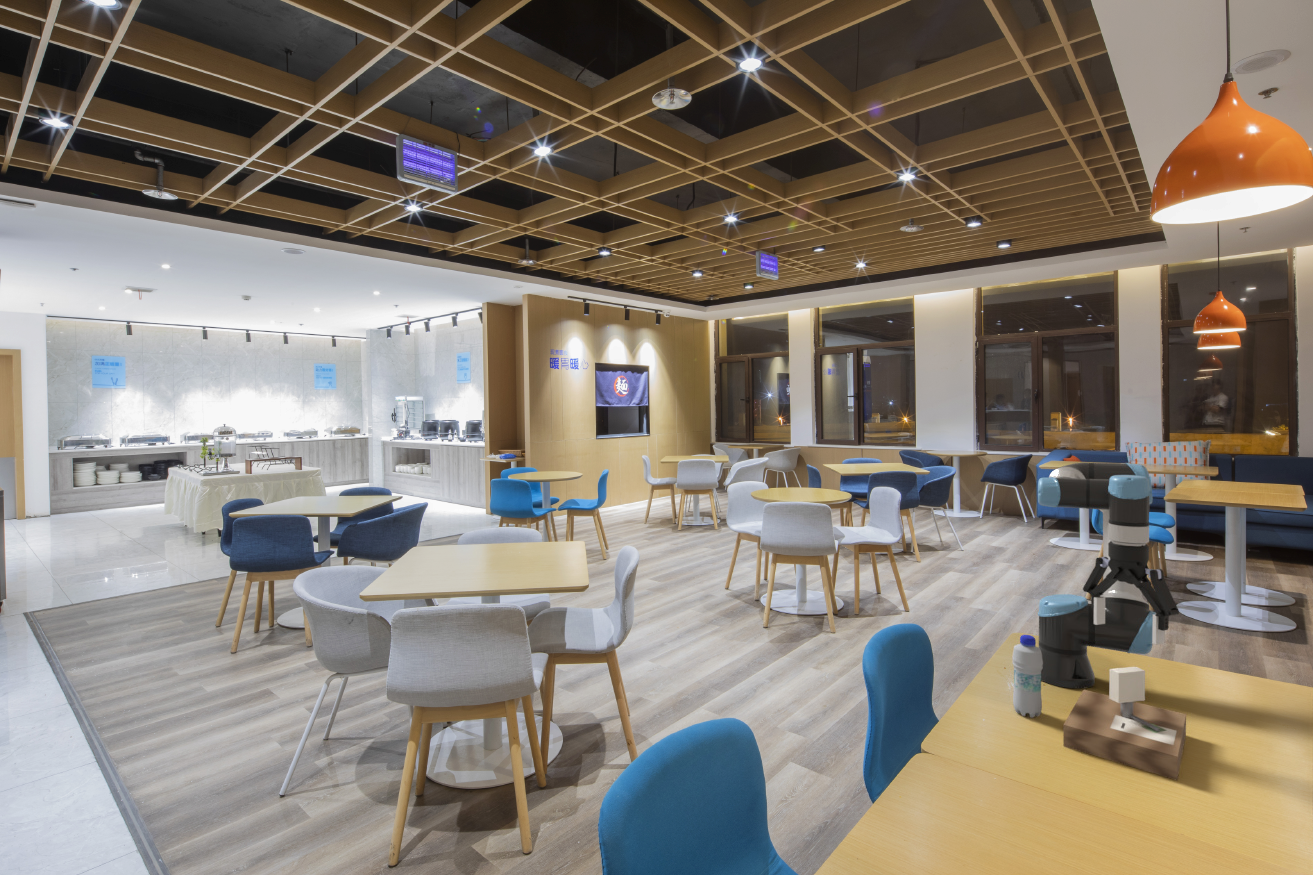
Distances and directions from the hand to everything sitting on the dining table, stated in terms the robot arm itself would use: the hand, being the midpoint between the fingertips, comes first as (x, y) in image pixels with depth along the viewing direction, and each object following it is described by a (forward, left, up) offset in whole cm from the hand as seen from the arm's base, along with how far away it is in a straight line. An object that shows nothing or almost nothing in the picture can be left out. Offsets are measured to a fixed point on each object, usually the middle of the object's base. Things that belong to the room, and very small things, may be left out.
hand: (1127, 633), depth 144 cm
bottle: (-20, -2, -25) cm, 32 cm away
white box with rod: (+3, -2, -19) cm, 20 cm away
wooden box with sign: (0, -2, -25) cm, 25 cm away
